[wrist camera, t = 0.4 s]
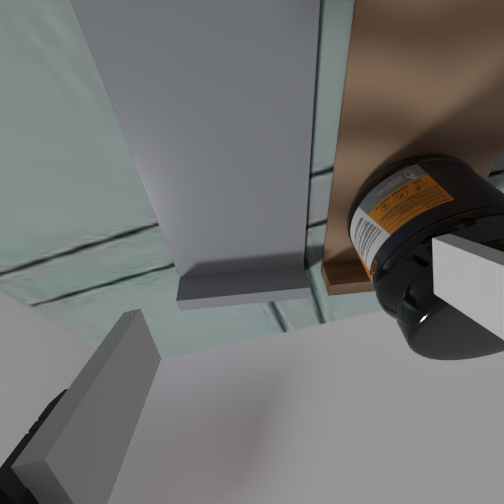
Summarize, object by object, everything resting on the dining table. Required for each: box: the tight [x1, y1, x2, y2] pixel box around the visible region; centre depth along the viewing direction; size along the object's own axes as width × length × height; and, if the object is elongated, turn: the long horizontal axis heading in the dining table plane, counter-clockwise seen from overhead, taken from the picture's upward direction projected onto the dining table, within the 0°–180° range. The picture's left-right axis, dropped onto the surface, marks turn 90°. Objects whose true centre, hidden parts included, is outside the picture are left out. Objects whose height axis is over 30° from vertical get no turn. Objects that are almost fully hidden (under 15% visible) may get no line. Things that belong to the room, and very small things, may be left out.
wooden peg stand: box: [321, 0, 504, 296], centre depth 16 cm, size 28×13×14 cm, turn 5°
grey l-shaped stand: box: [71, 0, 320, 311], centre depth 16 cm, size 28×13×14 cm, turn 5°
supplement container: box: [347, 154, 504, 360], centre depth 21 cm, size 10×10×12 cm
